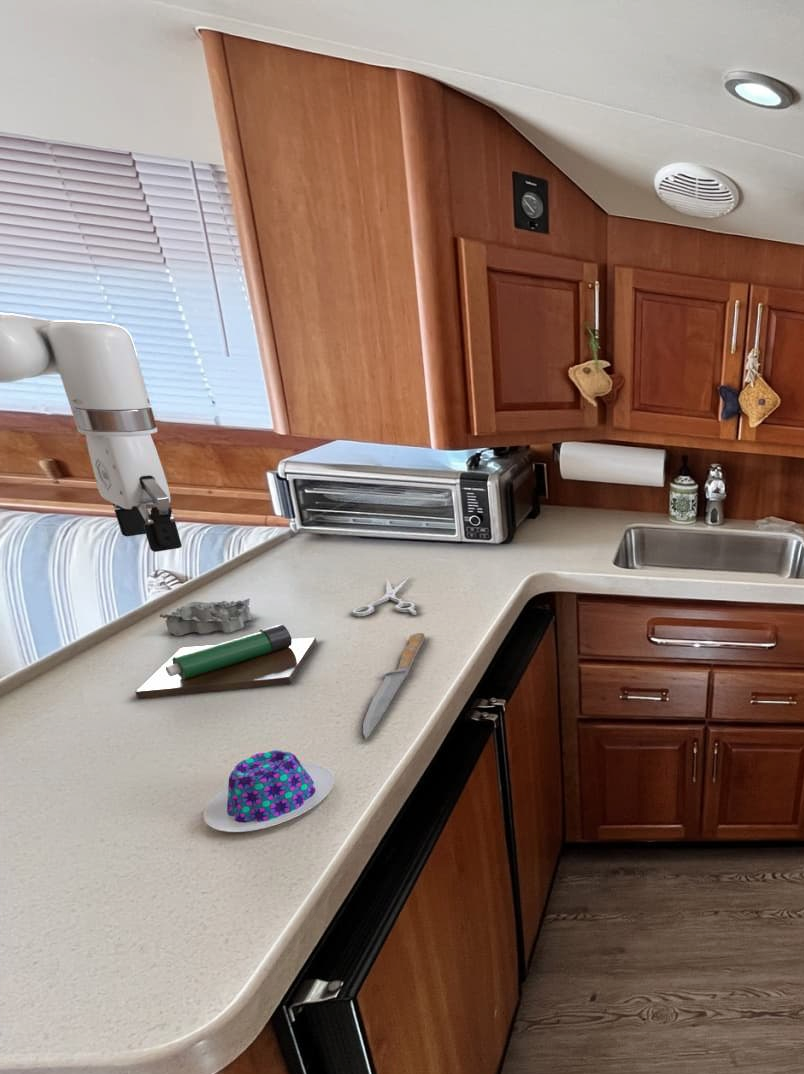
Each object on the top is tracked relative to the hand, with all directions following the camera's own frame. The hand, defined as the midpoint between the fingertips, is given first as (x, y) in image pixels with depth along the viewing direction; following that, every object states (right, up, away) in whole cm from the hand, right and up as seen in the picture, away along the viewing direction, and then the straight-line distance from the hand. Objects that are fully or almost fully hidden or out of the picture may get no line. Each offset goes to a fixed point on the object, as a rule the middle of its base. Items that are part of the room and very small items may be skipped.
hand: (152, 541), depth 92 cm
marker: (+5, -18, +8) cm, 20 cm away
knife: (+30, -22, +8) cm, 38 cm away
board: (+5, -19, +8) cm, 22 cm away
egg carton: (-10, -13, +20) cm, 26 cm away
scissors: (+11, -8, +36) cm, 39 cm away
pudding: (+32, -32, -17) cm, 49 cm away
